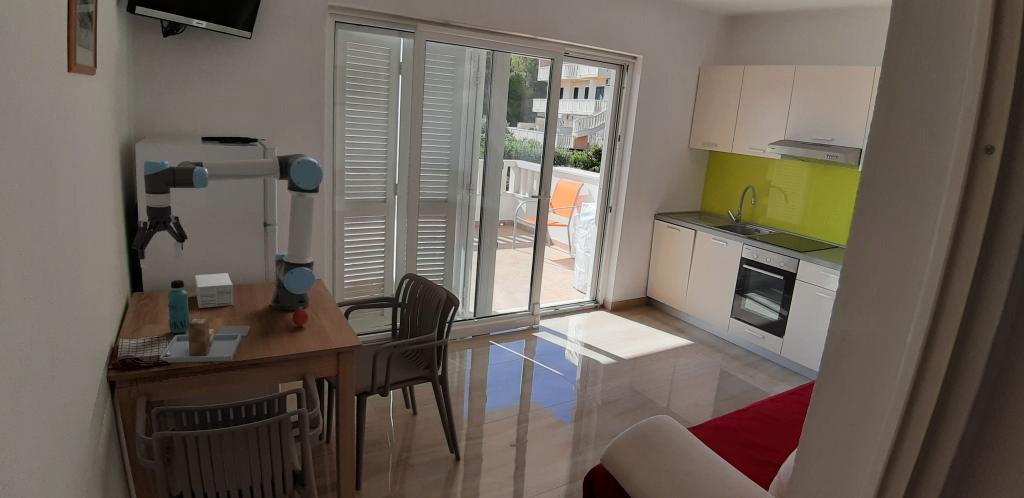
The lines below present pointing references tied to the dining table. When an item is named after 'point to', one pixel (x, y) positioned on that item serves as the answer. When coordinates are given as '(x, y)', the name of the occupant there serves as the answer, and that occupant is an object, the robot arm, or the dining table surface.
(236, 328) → the slate coaster
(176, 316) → the beverage bottle
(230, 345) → the bin
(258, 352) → the dining table surface
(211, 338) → the birch block
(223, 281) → the supplement box
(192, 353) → the walnut box
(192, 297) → the dining table surface
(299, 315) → the onion
